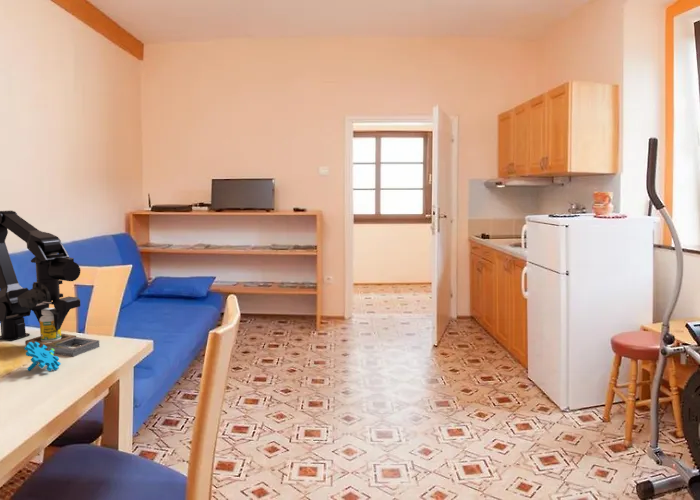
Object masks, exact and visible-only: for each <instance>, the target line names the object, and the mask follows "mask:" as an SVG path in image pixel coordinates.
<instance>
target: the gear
mask: <svg viewBox="0 0 700 500" xmlns="http://www.w3.org/2000/svg"><path fill="white" fill-rule="evenodd" d="M33 345H34V346H33ZM39 345H40V344H39V343H38V342H35V343H34V344H33V343H32V342H29V343H28V344H27V346H26V345H25V347H24V348H23V349H24V350H25V356H27V357H31V358H30V361H31V362H32V363H31V364H30V365H29V366H28V367H27V368H26V369H27V371H28V372H32V370H33V369H34V368H35V367H36V366H38V367H39V368H40V369H43V368H45V366H46V368H45V369H46V371H49V372H51V371H52V370H53V371H57V370H58V369H59V367H60V366H61V364H62V363H61V362H60V357H59V356H57V355H55V354H54V351H55V350H54V349H53V348H51V349H50V350H49V351H47V350H46V349H47V346H45V345H42V346H41V348H40V347H39Z"/></svg>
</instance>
